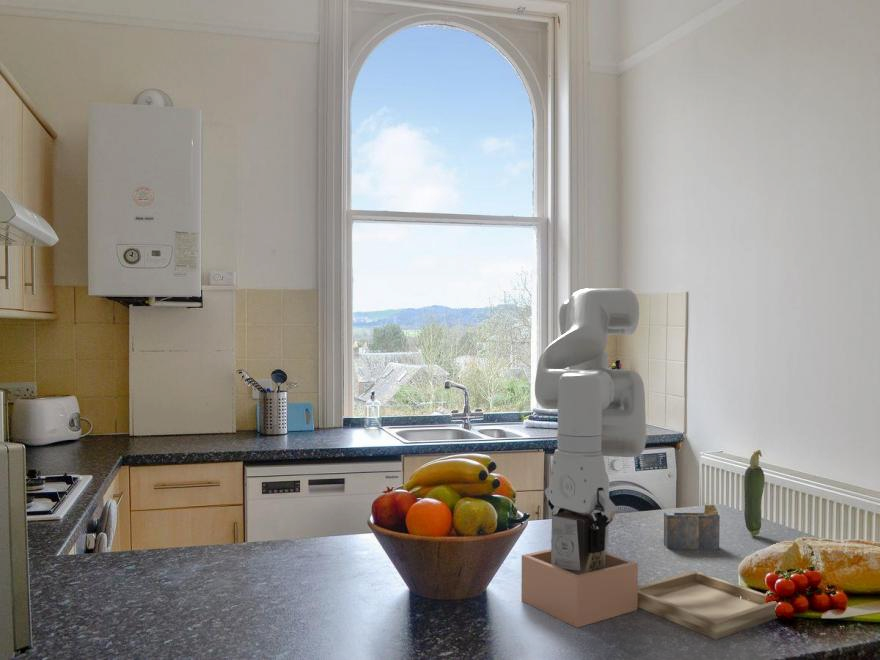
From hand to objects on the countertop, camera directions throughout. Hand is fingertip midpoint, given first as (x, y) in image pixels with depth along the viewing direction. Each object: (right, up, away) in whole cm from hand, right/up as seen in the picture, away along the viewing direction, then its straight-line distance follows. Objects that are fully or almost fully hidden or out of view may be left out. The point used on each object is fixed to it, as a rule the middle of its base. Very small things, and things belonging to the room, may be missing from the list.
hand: (578, 544), depth 129 cm
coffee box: (0, -11, 0) cm, 11 cm away
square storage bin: (0, -10, 0) cm, 10 cm away
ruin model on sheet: (+31, -11, +35) cm, 48 cm away
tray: (+21, -11, -2) cm, 24 cm away
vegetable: (+49, -11, +44) cm, 67 cm away
